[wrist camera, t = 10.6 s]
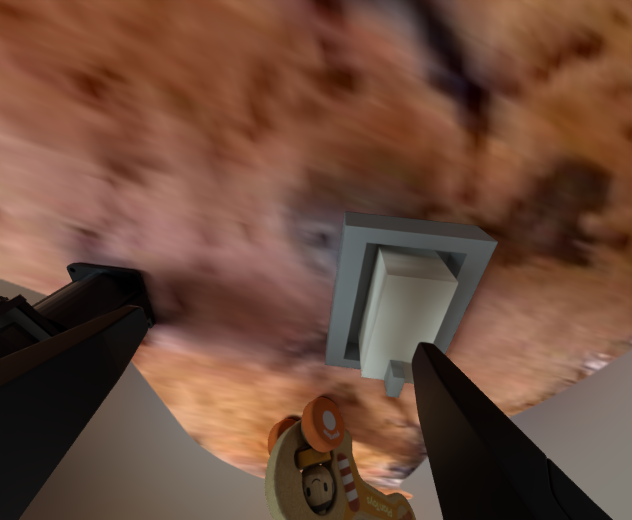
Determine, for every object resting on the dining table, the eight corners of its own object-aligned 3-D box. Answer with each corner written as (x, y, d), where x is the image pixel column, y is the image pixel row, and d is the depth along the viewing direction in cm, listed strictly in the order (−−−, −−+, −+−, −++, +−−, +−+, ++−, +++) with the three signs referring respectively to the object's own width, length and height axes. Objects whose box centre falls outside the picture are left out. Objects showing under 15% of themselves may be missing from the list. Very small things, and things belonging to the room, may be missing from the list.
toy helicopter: (307, 383, 28) (282, 578, 16) (427, 459, 34) (475, 649, 21) (264, 412, 32) (217, 591, 19) (380, 477, 37) (399, 649, 25)
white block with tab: (358, 333, 23) (363, 394, 18) (377, 242, 19) (391, 288, 13) (402, 338, 23) (421, 402, 18) (433, 248, 18) (469, 297, 13)
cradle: (326, 340, 25) (324, 364, 22) (344, 211, 18) (345, 225, 16) (424, 352, 24) (433, 378, 22) (476, 225, 18) (498, 242, 16)
